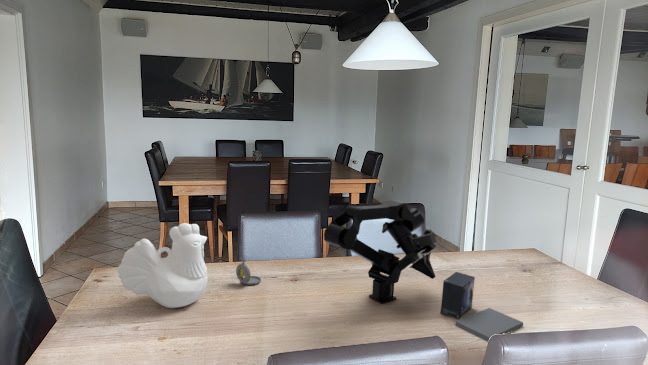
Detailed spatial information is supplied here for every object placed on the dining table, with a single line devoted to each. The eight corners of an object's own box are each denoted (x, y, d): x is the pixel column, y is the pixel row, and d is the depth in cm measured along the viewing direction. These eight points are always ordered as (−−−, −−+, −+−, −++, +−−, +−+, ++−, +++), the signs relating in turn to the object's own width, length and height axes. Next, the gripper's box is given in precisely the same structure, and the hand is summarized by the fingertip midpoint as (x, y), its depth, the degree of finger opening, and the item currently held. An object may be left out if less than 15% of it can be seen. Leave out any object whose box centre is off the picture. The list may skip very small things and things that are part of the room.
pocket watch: (262, 279, 154) (263, 252, 152) (256, 288, 146) (257, 259, 144) (240, 277, 155) (240, 250, 153) (233, 287, 147) (232, 258, 145)
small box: (460, 320, 127) (463, 286, 125) (439, 313, 131) (442, 280, 129) (473, 308, 136) (475, 276, 134) (452, 302, 139) (455, 271, 138)
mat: (489, 342, 115) (489, 337, 115) (455, 325, 124) (455, 321, 124) (522, 326, 125) (523, 322, 124) (488, 311, 133) (489, 307, 133)
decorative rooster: (207, 289, 144) (206, 215, 140) (209, 309, 130) (208, 228, 126) (125, 296, 137) (121, 219, 133) (117, 319, 122) (112, 233, 118)
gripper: (409, 228, 129) (443, 273, 124) (432, 217, 144) (463, 256, 140) (383, 249, 135) (415, 292, 130) (408, 236, 150) (437, 274, 145)
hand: (434, 277), depth 136 cm, fingers closed
